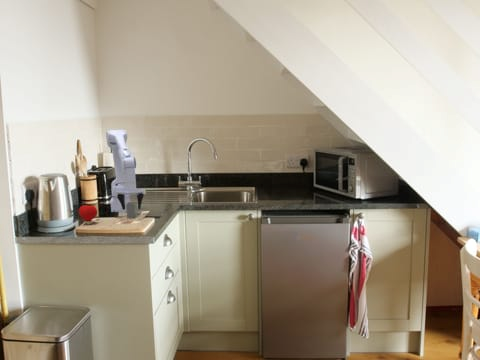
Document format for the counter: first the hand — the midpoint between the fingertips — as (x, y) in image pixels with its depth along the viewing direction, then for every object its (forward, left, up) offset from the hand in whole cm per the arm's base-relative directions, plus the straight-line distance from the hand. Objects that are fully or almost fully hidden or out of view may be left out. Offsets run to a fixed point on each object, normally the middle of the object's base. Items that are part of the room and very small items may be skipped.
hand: (131, 209), depth 217 cm
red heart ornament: (-18, -10, -6) cm, 21 cm away
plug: (0, 0, -4) cm, 4 cm away
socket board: (0, 0, -6) cm, 6 cm away
